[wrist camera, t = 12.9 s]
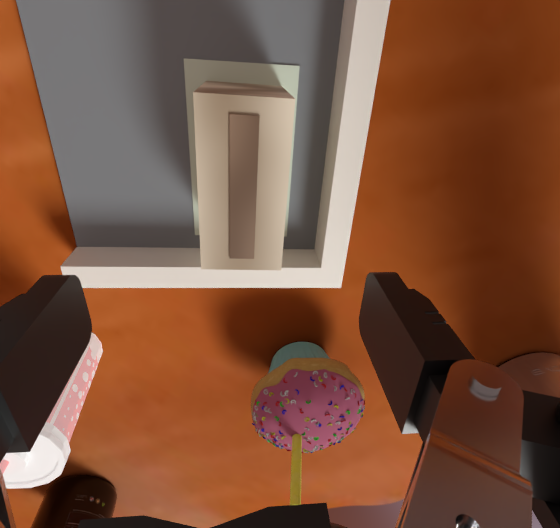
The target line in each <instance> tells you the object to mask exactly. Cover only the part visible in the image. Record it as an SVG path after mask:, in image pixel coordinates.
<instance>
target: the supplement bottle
mask: <svg viewBox="0 0 560 528" xmlns="http://www.w3.org/2000/svg"><path fill="white" fill-rule="evenodd" d="M116 499H117V494H116V491H115V489H114V487H113V486H112V485H111V484H110V483H109V482H107V481H105V480H103V479H101V478H98V477H94V476H87V475H75V476H69V477H65V478H62V479H60V480H58V481H56V482H55V483H54V484H52V485H51V486H50V487H49V489H48V490H47V492H46V494H45V496H44V498H43V501H42V503H41V505H40V508H39V510H38V512H37V515H36V517H35V519H34V522H33V524H32V526H31V528H78V526H79V523H80V520H87V519H101V518H112V516H113V512H114V508H115V504H116Z"/></svg>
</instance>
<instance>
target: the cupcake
mask: <svg viewBox="0 0 560 528" xmlns="http://www.w3.org/2000/svg"><path fill="white" fill-rule="evenodd" d="M364 404H365V400H364V390H363V387H362V385H361V383H360V381H359V380H358V378H357V377H356V376H355V375H354V374H353V373H352V372H351V371H350V370H349V368H348V366H347V365H346V364H344V363H342V362H339V361H337V360H333V359H330V358H329V357H328V355H327V354H326V353H325V351H324V350H323V349H322V348H321V347H319V346H318V345H316V344H314V343H310V342H294V343H291V344H288V345H286V346H284V347H282V348H281V349H280V350H278V351H277V352H276V354H275V355H274V357H273V359H272V362H271V366H270V369H269V372H268V374H267V375H265V376H264V377H263V378H262V379H261V380H260V381H259V382H258V383H257V384H256V385H255V387H254V389H253V392H252V398H251V413H252V419H253V423H254V424H253V423H252V424H253V425H255V428H256V429H257V430H256V431H257V433H258V434H259V436H260V437H261V436H263V438H264V439H266V440H267V442H270V443H271V442H272V444H273V445H274V446H275V447H279V448H280V449H283V448H285V449H287V451H291V450H292V459H291V486H290V505H301V453H303V452H305V453H308V452H311V453H312V452H314V451H317V450H323V449H324V448H326V447H328V446H331V445H332V444H333V445H334V444H335V443H336V442H337V443H340V442H341V440H343V439H344V438H345V437H346V436H347V435H349V434H350V433H352V432H353V430H354V429H356V428H355V427H356V425H357V423H358V422H359V420H360V418H361V417H363V410H364V409H365V406H364ZM276 445H277V446H276Z"/></svg>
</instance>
